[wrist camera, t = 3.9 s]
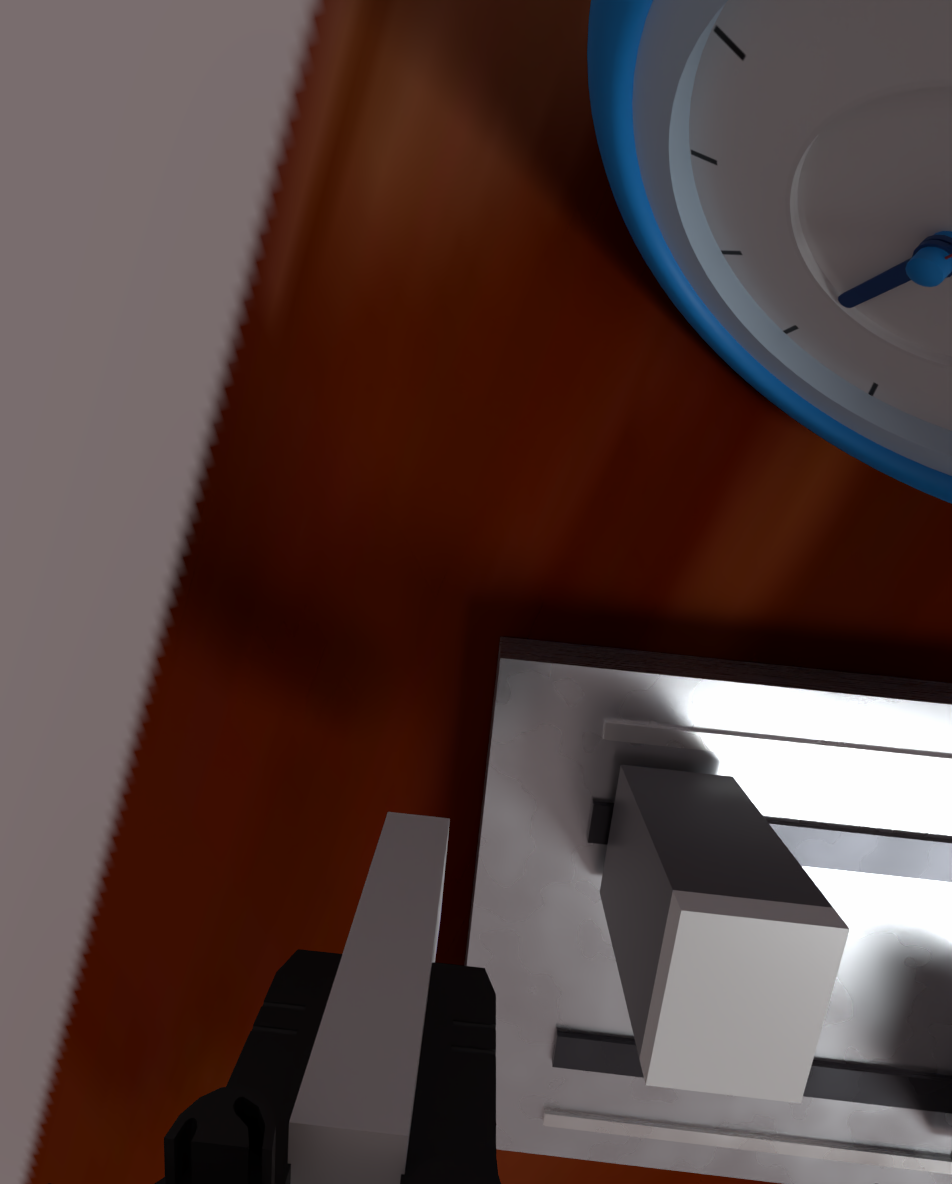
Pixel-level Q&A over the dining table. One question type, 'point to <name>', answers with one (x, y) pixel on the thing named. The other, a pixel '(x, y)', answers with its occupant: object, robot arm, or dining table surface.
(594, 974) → the console
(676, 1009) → the fader white
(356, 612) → the dining table surface
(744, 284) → the alarm clock
